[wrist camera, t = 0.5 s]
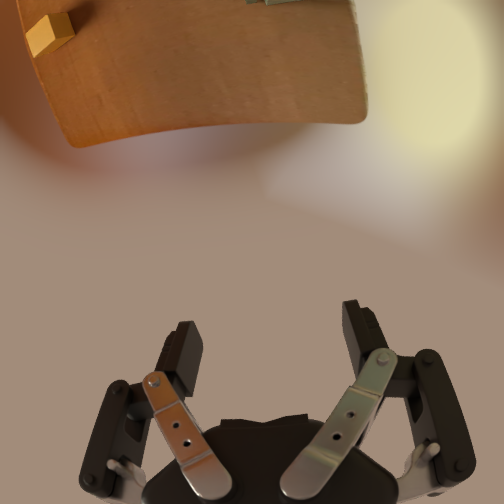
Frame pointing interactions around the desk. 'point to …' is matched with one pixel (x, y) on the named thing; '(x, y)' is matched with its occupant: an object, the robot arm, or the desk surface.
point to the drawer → (250, 1)
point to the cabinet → (278, 1)
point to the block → (50, 34)
